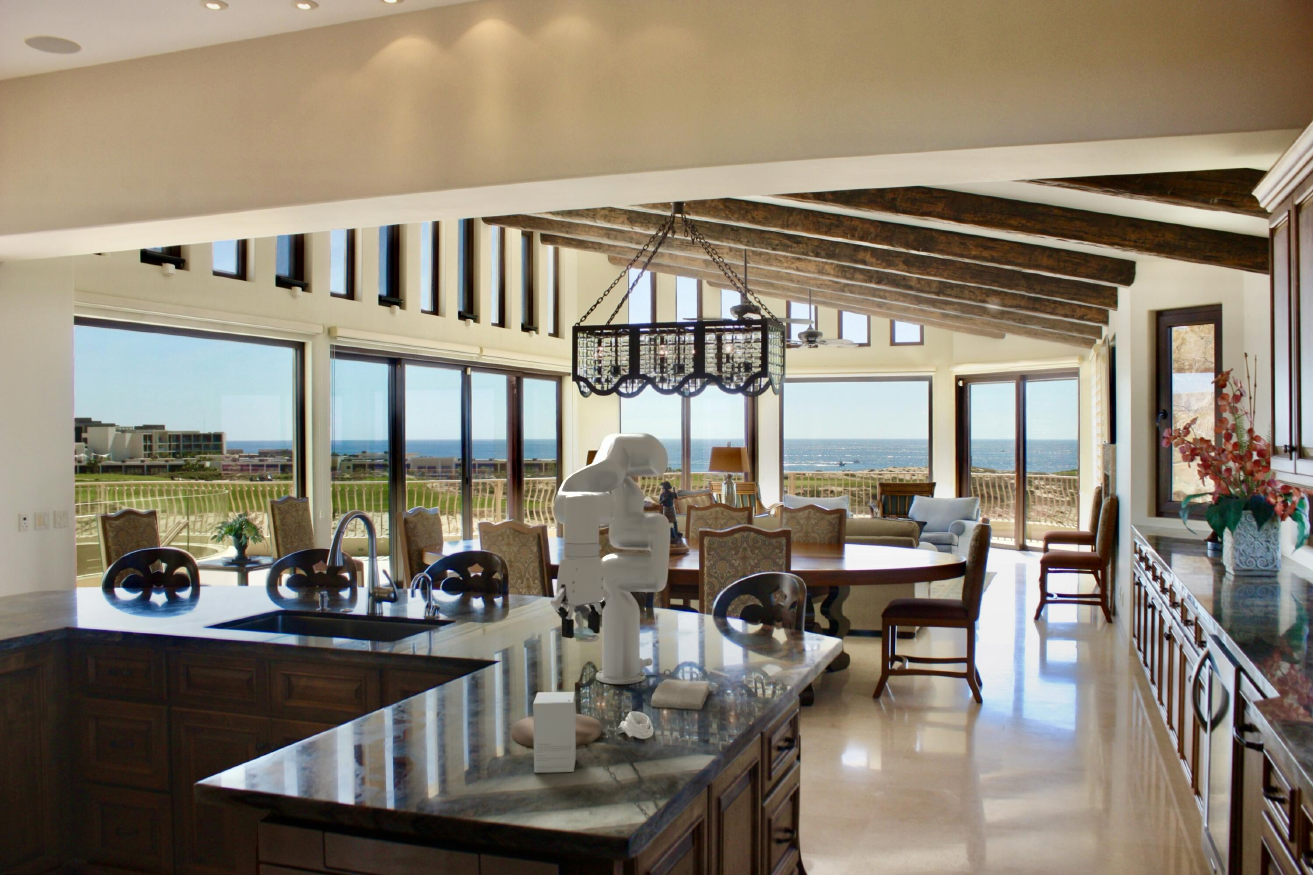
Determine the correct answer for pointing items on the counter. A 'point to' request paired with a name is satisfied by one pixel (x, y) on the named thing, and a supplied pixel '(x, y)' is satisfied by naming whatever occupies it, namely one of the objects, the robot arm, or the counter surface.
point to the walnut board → (584, 730)
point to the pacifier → (583, 631)
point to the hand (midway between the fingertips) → (580, 634)
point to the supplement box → (554, 732)
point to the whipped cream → (636, 725)
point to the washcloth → (680, 694)
